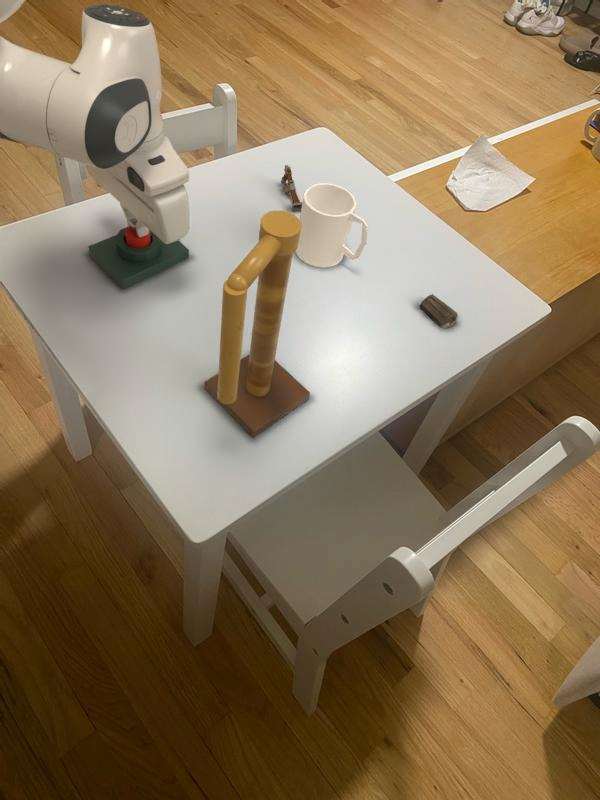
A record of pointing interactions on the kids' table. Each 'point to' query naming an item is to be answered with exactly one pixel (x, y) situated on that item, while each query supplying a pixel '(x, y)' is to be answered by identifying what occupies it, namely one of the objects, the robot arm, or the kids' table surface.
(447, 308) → the block
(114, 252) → the button block
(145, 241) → the red button
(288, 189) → the wooden post with brackets
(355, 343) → the kids' table surface
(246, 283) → the bent wooden pipe
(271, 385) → the paper towel holder
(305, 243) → the cup
